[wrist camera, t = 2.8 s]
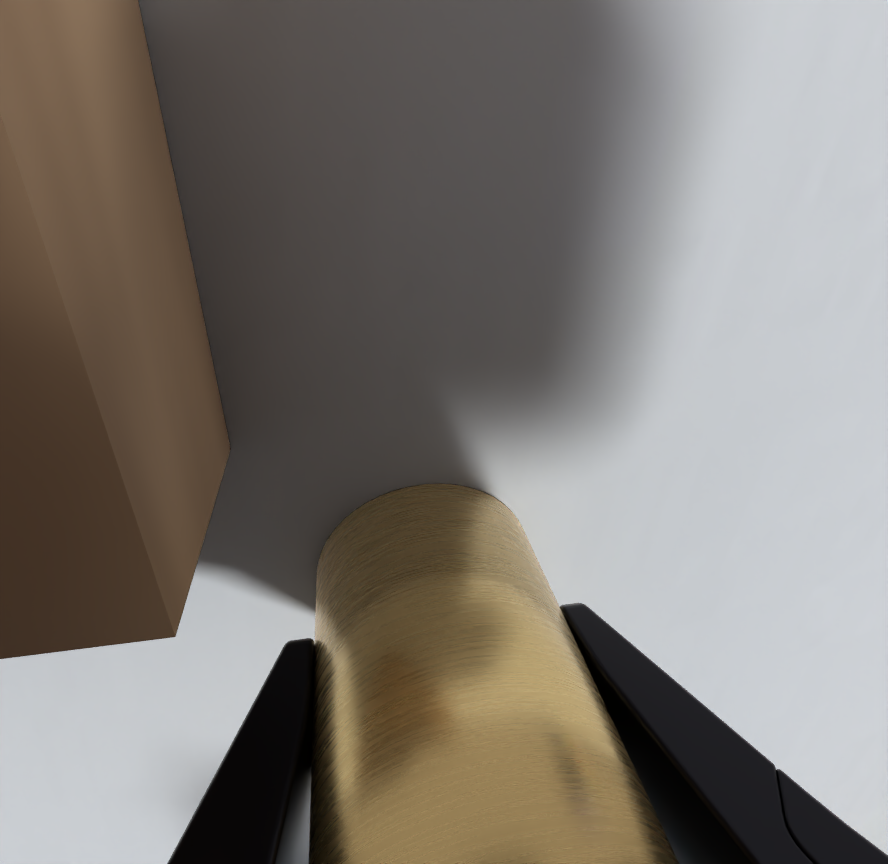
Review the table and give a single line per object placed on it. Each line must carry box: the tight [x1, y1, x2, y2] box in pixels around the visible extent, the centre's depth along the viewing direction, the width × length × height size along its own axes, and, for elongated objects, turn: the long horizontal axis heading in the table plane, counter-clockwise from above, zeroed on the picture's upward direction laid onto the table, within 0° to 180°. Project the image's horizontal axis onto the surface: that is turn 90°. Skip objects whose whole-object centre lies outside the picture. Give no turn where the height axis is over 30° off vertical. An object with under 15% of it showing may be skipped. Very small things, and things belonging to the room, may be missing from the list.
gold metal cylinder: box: [309, 484, 679, 864], centre depth 7 cm, size 4×4×7 cm
